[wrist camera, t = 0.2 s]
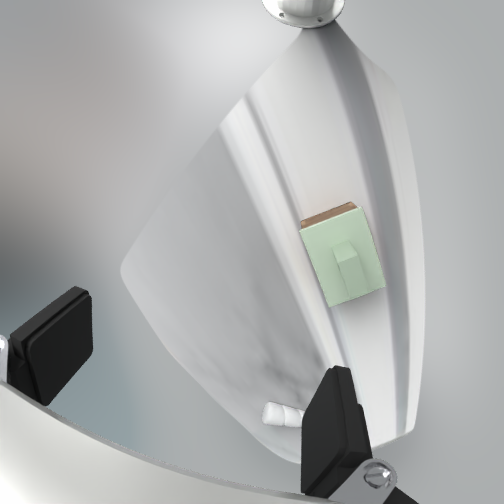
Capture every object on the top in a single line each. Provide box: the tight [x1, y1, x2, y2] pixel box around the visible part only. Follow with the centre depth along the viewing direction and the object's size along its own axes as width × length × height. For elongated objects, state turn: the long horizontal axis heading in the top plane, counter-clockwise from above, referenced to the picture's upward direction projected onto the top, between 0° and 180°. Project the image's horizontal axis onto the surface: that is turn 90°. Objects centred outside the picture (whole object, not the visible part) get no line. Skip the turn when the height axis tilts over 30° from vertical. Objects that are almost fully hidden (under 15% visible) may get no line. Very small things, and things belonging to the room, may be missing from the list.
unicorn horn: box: [262, 402, 305, 428], centre depth 56 cm, size 5×24×5 cm, turn 69°
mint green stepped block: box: [299, 207, 386, 308], centre depth 38 cm, size 12×9×8 cm
